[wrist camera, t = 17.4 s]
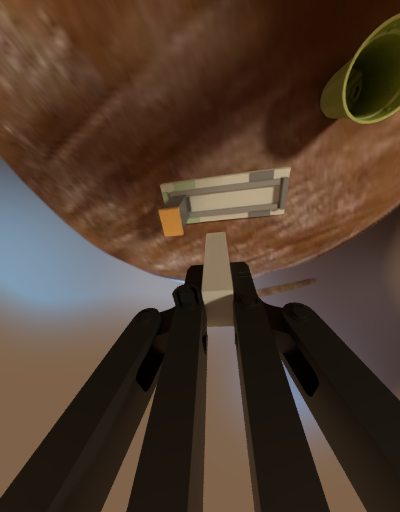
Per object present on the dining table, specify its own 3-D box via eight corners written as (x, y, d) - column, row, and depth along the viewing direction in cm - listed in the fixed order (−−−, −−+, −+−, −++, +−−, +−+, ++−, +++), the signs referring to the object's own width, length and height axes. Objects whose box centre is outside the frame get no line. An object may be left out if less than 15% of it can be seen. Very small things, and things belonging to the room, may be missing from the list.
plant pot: (384, 43, 24) (460, -5, 17) (362, 124, 29) (412, 115, 22) (315, 60, 25) (356, 24, 18) (304, 135, 30) (334, 130, 23)
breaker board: (171, 222, 41) (167, 227, 38) (162, 183, 36) (157, 186, 33) (280, 211, 38) (286, 216, 35) (286, 166, 33) (293, 168, 30)
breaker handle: (175, 215, 38) (162, 236, 28) (170, 195, 35) (155, 211, 26) (192, 213, 37) (185, 234, 28) (189, 192, 35) (180, 208, 25)
